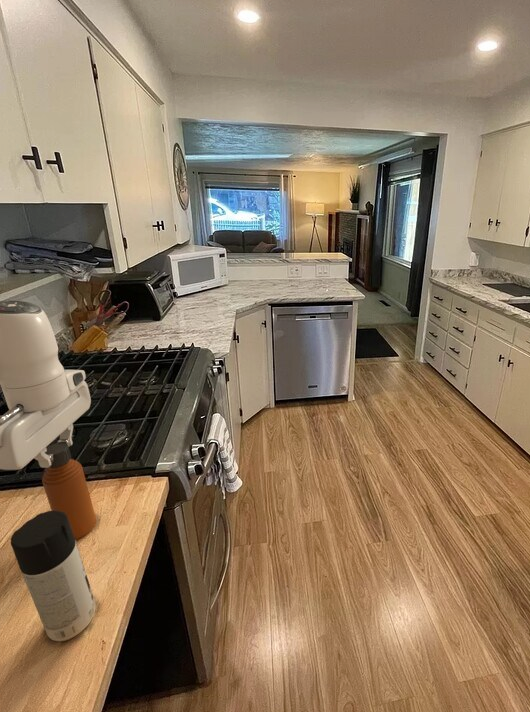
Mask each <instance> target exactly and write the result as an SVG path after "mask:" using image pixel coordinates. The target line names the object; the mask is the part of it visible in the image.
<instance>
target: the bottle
mask: <svg viewBox="0 0 530 712" xmlns="http://www.w3.org/2000/svg"><path fill="white" fill-rule="evenodd" d="M41 482H42V485H43V488H44V492H45V495H46V498H47V501H48V504H49V507H50V511H53V510H57V511H62V512H64V513H65V514H66V515H67V517H68V520H69V523H70V526H71V529H72V532H73V534H74V537H75V540H76V541H77V540H79V539H80V538H83V537H85V536H86V535H88V534H89V533H90V532H91V531H92V530H93V529H94V528H95V526H96V524H97V517H96V514H95V509H94V506H93V502H92V499H91V494H90V491H89V488H88V487H89V486H88V484H87V479H86V476H85V472H84V469H83V466H82V464H81V463H80V462H79V461H77V460H75V459H73V458H71V459H70V460H69V461H68V462H67V463H66V464H64V465H62V466H59V467H54V468H50V467H48V468H45V471H44V472H43V474H42V477H41Z"/></svg>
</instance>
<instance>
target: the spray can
mask: <svg viewBox="0 0 530 712" xmlns="http://www.w3.org/2000/svg"><path fill="white" fill-rule="evenodd" d="M10 546H11V549H12V550H13V554H14V556H15V559H16V562H17V564H18V568H19V570H20V573H21V574H22V577H23V578H24V581H25V584H26V587H27V589H28V591H29V595H30V597H31V600H32V601H33V604H34V606H35V609H36V612H37V613H38V616H39V619H40V621H41V623H42V626H43V629H44V631H45V633H46V636H47V637H48V638H49V639H50V640H52V641H54V642H65V641H69V640H71V639H73V638H74V637H76V636H77V635H79V634H81V633H82V632H83V631H84V630H85V629H87V627H88V626H89V625H90V623H91V622H92V620H93V618H94V615H95V614H96V613H95V612H96V600H95V596H94V595H93V589H92V588H91V584H90V581H89V579H88V575H87V572H86V569H85V565H84V564H83V560H82V559H83V558H82V556H81V552H80V550H79V547H78V546H79V545H78V543H77V539H76V540H75V537H74V534H73V532H72V529H71V526H70V523H69V520H68V517H67V515H66V514H65V513H64V512H62V511H57V510H53V511H52V510H48V511H45V512H41V513H38V514H37V515H35V516H34V517H33V518H31V519H28V520H27V521H25V522H24V523H23V524H22V525H21V526H20V527H19V528H18V529H17V530H15V531H14V532H13V534H12V535H11V537H10Z"/></svg>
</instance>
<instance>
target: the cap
mask: <svg viewBox="0 0 530 712" xmlns="http://www.w3.org/2000/svg"><path fill="white" fill-rule="evenodd" d="M46 449H47V451H46V452H45V454H47V455H52V454H53V456H54V459H55V462H54V463H53V464H52V465H51V466H50V468H54V467H59V466H62V465H64V464H66V463H67V462H68V461H69V460H70V459H72V454H71V450H70V447H69V446H68V444H67V443H63V442H61V443H57V442H55V443H53V444H49V445H48V446H47V447H46Z"/></svg>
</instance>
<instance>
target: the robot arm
mask: <svg viewBox="0 0 530 712" xmlns="http://www.w3.org/2000/svg"><path fill="white" fill-rule="evenodd" d="M86 377H87V376H86V371H85V370H83V369H65V368H64V366H63V365H62V363H61V361H60V360H59V346H58V342H57V339H56V336H55V333H54V330H53V326H52V324H51V322H50V320H49V317H48V316H47V314H46V312H45V310H43V309H42V308H41V307H40V306H39V305H37V304H35V303H33V302H29V301H24V300H0V387H1V390H2V393H3V396H4V399H5V402H6V405H7V408H8V411H6V412H5V413H4V414H3V415H0V470H3V471H17V470H23V469H24V467H26V466H27V465H28V464H29V463H30V462H31V461H33V459H34V460H36V461H37V462H38V465H39V467H40V468H42V469H43V468H45V469H47V468H48V467H50V466H51V465H52V464H53V463H54V462H55V459H54V456H53V454H52V455H47V454H45V452H46V451H47V449H46V448H47V447H48V446H50V445H51V443H53V442H54V441H55V440H56V439H57V438H59V440H57V442H56V443H61V442H63V443H67V444H68V446H69V448H70V447H72V446H73V444H74V443H73V438H72V437H73V432H74V423H75V422H76V421H77V420H78V419H79V418H80V417H82V416H83V415H84V414H85V413H86V412H87V411H88V410H89V409H90V407H91V404H92V399H91V394H90V393H91V392H90V390H89V386H88V384H87V382H86V381H85V380H86Z"/></svg>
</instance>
